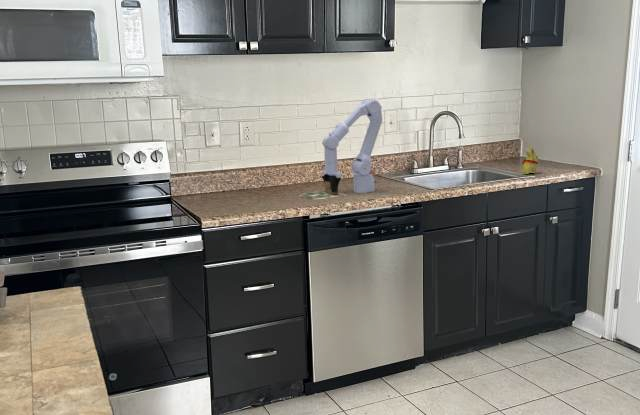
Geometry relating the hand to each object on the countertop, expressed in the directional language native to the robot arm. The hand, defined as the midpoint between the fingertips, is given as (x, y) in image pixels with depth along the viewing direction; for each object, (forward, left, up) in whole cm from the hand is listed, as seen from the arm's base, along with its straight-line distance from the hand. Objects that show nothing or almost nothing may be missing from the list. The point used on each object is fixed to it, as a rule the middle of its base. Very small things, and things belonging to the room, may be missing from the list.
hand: (331, 191), depth 295 cm
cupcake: (-34, -22, -3) cm, 41 cm away
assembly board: (+4, 0, -2) cm, 5 cm away
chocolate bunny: (-116, +11, -3) cm, 117 cm away
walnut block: (0, 0, -1) cm, 1 cm away
